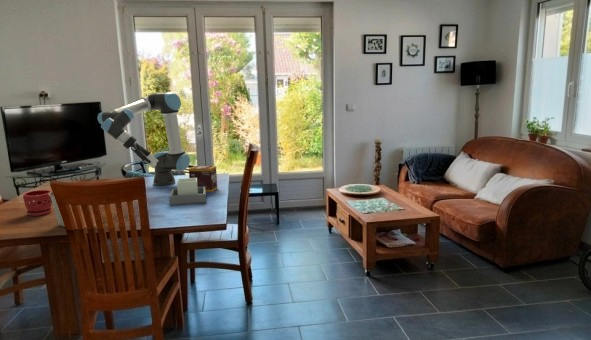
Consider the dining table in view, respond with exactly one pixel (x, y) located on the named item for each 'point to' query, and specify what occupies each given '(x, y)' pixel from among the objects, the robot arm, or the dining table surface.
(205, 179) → the supplement box
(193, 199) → the large crate
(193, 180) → the small crate
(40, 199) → the plant pot
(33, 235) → the dining table surface
